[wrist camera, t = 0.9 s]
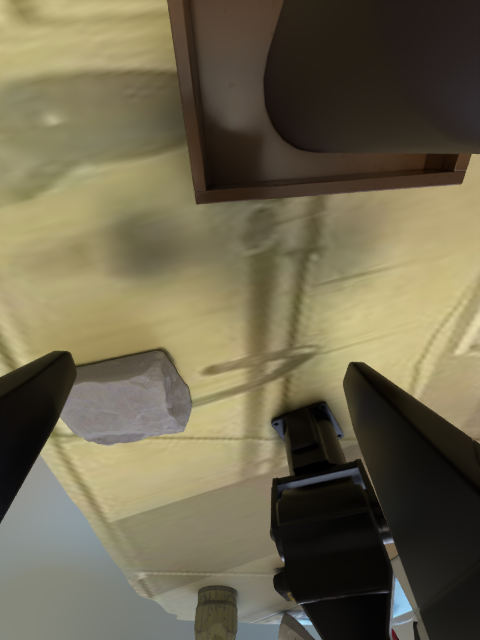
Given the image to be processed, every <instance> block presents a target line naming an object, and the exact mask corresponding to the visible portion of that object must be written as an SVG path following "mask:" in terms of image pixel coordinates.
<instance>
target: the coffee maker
mask: <svg viewBox="0 0 480 640" xmlns="http://www.w3.org/2000/svg"><path fill="white" fill-rule="evenodd" d="M390 562H391V564H392V568H393V571H394V573H395V575H396V577H397V579H398V581H399V583H400V585H401V587H402V589H403V591H404V593H405V595H406V597H407V599H408V601H409V603H410V605H411V607H412V609H413V611H414V613H415V615H416V617H417V620H418V622H413V629H414V638H415V640H429V638H428V635H427V632H426V630H425V627H424V624H423V621H422V619H421V616H420V613H419V610H420V609H418V607H417V604H416V601H415V599H414V596H413V593H412V590H411V587H410V585H409V582H408V579H407V576H406V574H405V571H404V568H403V565H402V563H401V560H400V557H399V556H397V557H396V558H394V559H393V560H391V561H390Z"/></svg>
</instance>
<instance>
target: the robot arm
mask: <svg viewBox="0 0 480 640" xmlns="http://www.w3.org/2000/svg"><path fill="white" fill-rule="evenodd" d="M76 377H77V369H76V366H75V363H74V360H73V358H72V355H71V353H70V352H68V351H53V352H51V353H49V354H47V355H45V356H43V357H41V358H39V359H37V360H35V361H33V362H31V363H28V364H26V365H24V366H22V367H20V368H18V369H16V370H14V371H12V372H10V373H8V374H6V375H4V376H2V377H0V523H1V521H2V520H3V518H4V516H5V514H6V512H7V511H8V509H9V507H10V505H11V504H12V502H13V500H14V498H15V496H16V495H17V493H18V491H19V489H20V488H21V486H22V484H23V482H24V480H25V479H26V477H27V475H28V473H29V472H30V470H31V468H32V466H33V464H34V463H35V461H36V459H37V457H38V455H39V454H40V452H41V450H42V448H43V447H44V445H45V443H46V441H47V439H48V438H49V436H50V434H51V432H52V431H53V429H54V427H55V425H56V423H57V421H58V419H59V417H60V415H61V413H62V410H63V408H64V406H65V403H66V401H67V399H68V396H69V394H70V392H71V389H72V387H73V385H74V382H75V380H76ZM343 388H344V392H345V396H346V400H347V404H348V409H349V413H350V417H351V421H352V425H353V429H354V432H355V435H356V438H357V441H358V444H359V446H360V449H361V452H362V455H363V457H364V460H365V463H366V466H367V468H368V471H369V474H370V477H371V480H372V482H373V485H374V488H375V491H376V493H377V496H378V499H379V501H378V499H377V496H376V494H375V492H374V489H373V487H372V485H371V482H370V480H369V477H368V475H367V473H366V470H365V468H364V466H363V463H362V461H361V459H356V460H355V461H352V462H348V463H347V462H346V459H345V457H344V454H343V451H342V448H341V445H340V442H339V439H340V438H342V437H343V436H344V435H343V432H342V430H341V428H340V426H339V425H338V423H337V421H336V419H335V418H334V416H333V414H332V412H331V410H330V409H329V407H328V405H327V403H326V402H324V401H321V402H318V403H315V404H312V405H310V406H307V407H304V408H301V409H298V410H296V411H293V412H290V413H287V414H285V415H282V416H279V417H276V418H274V419H272V420H271V424H272V426H273V427H274V429H275V430H276V431H277V433H278V434H279V435H280V437H281V438H282V439H283V441H284V442H285V447H286V453H287V460H288V466H289V472H290V476H287V477H282V478H273V482H272V488H271V528H270V536H271V539H272V540H273V541H274V542H275V543H276V547H277V550H278V553H279V555H280V557H281V559H282V560H283V561H284V562H285V570H286V579H287V586H288V588H289V590H290V592H291V594H292V596H293V598H294V599H295V601H296V602H297V604H301V606H302V608H303V609H304V611H305V613H306V614H307V616H308V617H309V619H310V621H311V622H312V624H313V626H314V627H315V629H316V630H317V632H318V634H319V635H320V637H321V639H322V640H393V638H392V633H391V632H392V618H393V604H394V590H395V575H394V571H393V568H392V564H391V562H390V559H389V556H388V553H387V551H386V548H385V545H384V544H390V543H395V546H396V549H397V552H398V554H399V557H400V560H401V563H402V565H403V568H404V571H405V574H406V576H407V579H408V582H409V585H410V587H411V590H412V593H413V596H414V599H415V601H416V604H417V607H418V609H420V610H419V613H420V616H421V619H422V621H423V624H424V627H425V630H426V632H427V635H428V638H429V640H480V444H479V443H478V442H477V441H475V440H472V438H471V437H469V436H468V435H466V434H465V433H464V432H462V431H461V430H459V429H458V428H456V427H455V426H454V425H452V424H451V423H449V422H448V421H446V420H445V419H444V418H442V417H441V416H439V415H438V414H437V413H435V412H434V411H432V410H431V409H429V408H428V407H427V406H425V405H424V404H422V403H421V402H419V401H418V400H417V399H415V398H414V397H412V396H411V395H409V394H408V393H407V392H405V391H404V390H402V389H401V388H399V387H398V386H397V385H395V384H394V383H392V382H391V381H390V380H388V379H387V378H385V377H384V376H382V375H381V374H380V373H378V372H377V371H375V370H374V369H372V368H371V367H370V366H368V365H367V364H365V363H363V362H350V363H349V365H348V368H347V371H346V374H345V377H344V380H343ZM379 502H380V504H381V506H380V504H379ZM381 507H382V509H381ZM382 510H383V511H382ZM383 513H384V514H383ZM384 516H385V517H384ZM385 518H386V519H385ZM386 521H387V522H386ZM387 524H388V525H387ZM389 529H390V530H389ZM390 532H391V533H390ZM391 535H392V536H391ZM393 540H394V542H393Z"/></svg>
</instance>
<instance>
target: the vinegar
mask: <svg viewBox="0 0 480 640" xmlns="http://www.w3.org/2000/svg"><path fill="white" fill-rule="evenodd" d="M263 82H264V95H265V105H266V108H267V111H268V113H269V116H270V119H271V122H272V125H273V126H274V127H275V129H276V130H277V131H278V133H279V134H280V135H281V137H282V138H283V139H284V140H285V141H287V142H288V143H290V144H291V145H293V146H294V147H296V148H297V149H300V150H305V151H309V152H314V153H426V154H480V0H284V1H283V5H282V8H281V11H280V15H279V18H278V21H277V25H276V28H275V31H274V35H273V38H272V41H271V45H270V48H269V51H268V55H267V61H266V67H265V73H264V79H263Z"/></svg>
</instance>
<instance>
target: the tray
mask: <svg viewBox="0 0 480 640" xmlns="http://www.w3.org/2000/svg"><path fill="white" fill-rule="evenodd" d="M283 1H284V0H167V3H168V10H169V17H170V24H171V31H172V38H173V45H174V52H175V59H176V66H177V73H178V80H179V87H180V94H181V101H182V108H183V115H184V122H185V129H186V136H187V143H188V150H189V157H190V164H191V171H192V178H193V185H194V191H195V199H196V204H209V203H222V202H235V201H249V200H262V199H275V198H288V197H301V196H315V195H328V194H341V193H354V192H367V191H380V190H394V189H407V188H420V187H433V186H446V185H459V184H462V182H463V179H464V176H465V173H466V171H465V170H467V167H468V164H469V161H470V157H471V154H426V153H314V152H309V151H305V150H300V149H297V148H296V147H294V146H293V145H291V144H290V143H288V142H287V141H285V140H284V139H283V138H282V137H281V135H280V134H279V133H278V131H277V130H276V129H275V127H274V126H273V125H272V122H271V119H270V116H269V113H268V111H267V108H266V105H265V95H264V82H263V79H264V73H265V67H266V61H267V55H268V51H269V48H270V45H271V41H272V38H273V35H274V31H275V28H276V25H277V21H278V18H279V15H280V11H281V8H282V5H283Z"/></svg>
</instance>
